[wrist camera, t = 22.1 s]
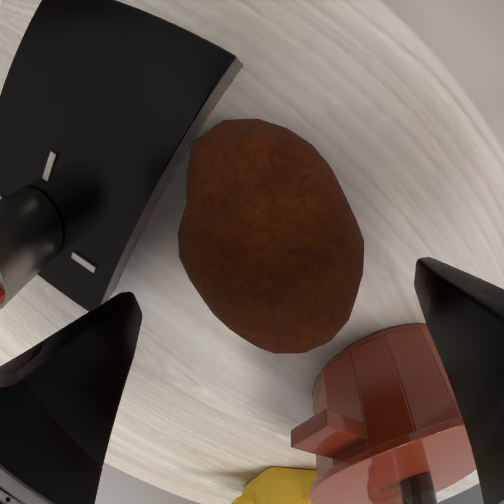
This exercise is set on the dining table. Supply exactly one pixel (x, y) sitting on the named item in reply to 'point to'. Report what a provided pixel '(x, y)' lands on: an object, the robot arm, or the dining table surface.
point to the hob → (103, 127)
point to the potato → (269, 236)
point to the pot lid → (400, 469)
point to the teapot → (279, 487)
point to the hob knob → (26, 239)
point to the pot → (376, 395)
